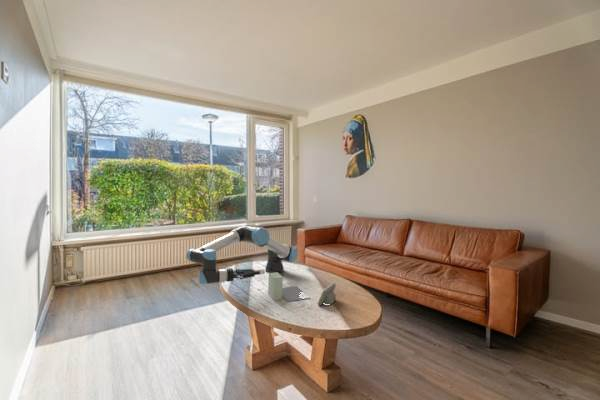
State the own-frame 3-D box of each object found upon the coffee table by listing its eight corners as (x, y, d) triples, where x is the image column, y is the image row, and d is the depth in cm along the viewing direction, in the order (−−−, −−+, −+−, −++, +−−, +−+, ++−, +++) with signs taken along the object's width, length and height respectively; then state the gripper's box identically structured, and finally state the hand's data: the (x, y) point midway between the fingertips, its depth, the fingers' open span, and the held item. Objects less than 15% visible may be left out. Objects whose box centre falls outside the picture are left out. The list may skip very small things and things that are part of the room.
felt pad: (296, 286, 202) (296, 285, 202) (310, 298, 182) (310, 297, 182) (275, 289, 196) (275, 288, 196) (287, 302, 176) (287, 301, 176)
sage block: (276, 292, 190) (277, 272, 189) (282, 298, 181) (282, 277, 180) (268, 294, 187) (268, 273, 186) (273, 300, 178) (273, 278, 177)
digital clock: (328, 296, 186) (329, 281, 185) (340, 301, 180) (341, 284, 179) (313, 304, 174) (313, 287, 173) (325, 309, 168) (325, 291, 167)
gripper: (224, 277, 176) (261, 274, 185) (227, 285, 164) (267, 280, 174) (224, 266, 175) (261, 262, 185) (228, 272, 163) (267, 268, 173)
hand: (264, 271), depth 179 cm, fingers closed
